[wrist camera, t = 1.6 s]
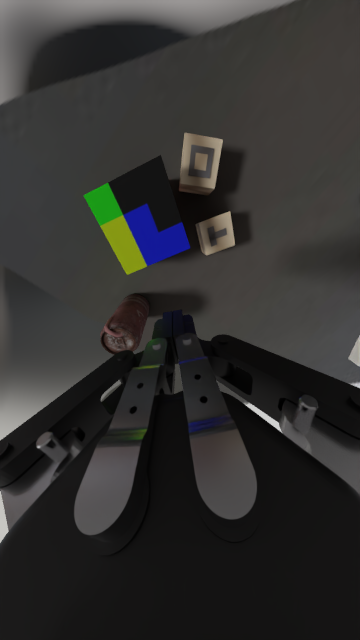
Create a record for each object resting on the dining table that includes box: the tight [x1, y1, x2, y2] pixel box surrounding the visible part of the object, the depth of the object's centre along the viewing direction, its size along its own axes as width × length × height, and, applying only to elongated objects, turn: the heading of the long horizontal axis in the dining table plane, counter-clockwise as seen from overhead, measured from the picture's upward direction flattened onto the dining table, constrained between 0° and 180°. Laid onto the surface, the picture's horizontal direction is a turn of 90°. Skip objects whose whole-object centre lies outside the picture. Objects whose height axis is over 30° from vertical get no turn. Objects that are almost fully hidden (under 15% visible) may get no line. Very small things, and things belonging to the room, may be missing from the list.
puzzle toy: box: [84, 155, 190, 275], centre depth 25 cm, size 10×10×10 cm
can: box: [101, 294, 150, 355], centre depth 31 cm, size 6×6×14 cm
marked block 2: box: [195, 211, 235, 255], centre depth 28 cm, size 5×5×5 cm
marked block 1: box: [179, 133, 223, 195], centre depth 24 cm, size 5×5×5 cm
